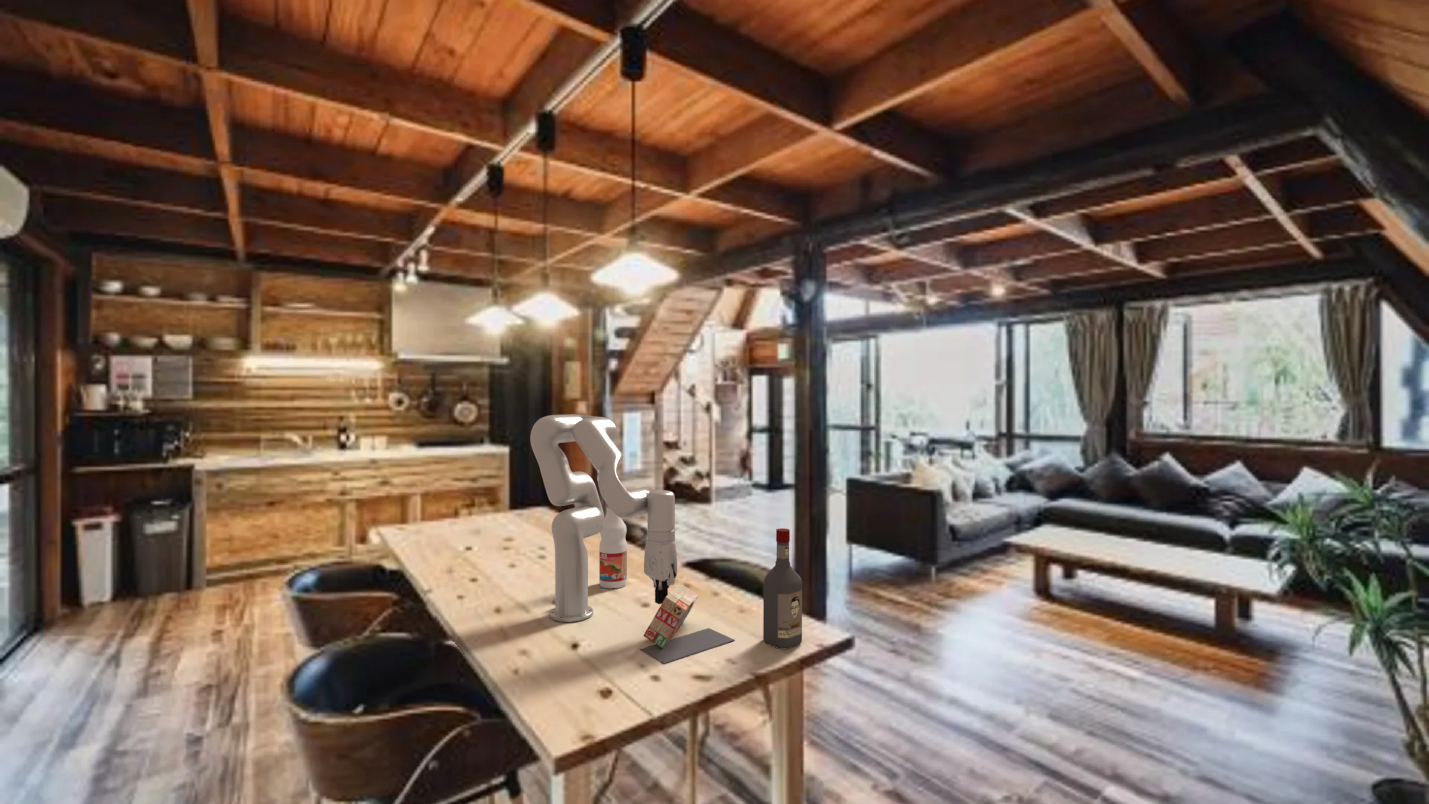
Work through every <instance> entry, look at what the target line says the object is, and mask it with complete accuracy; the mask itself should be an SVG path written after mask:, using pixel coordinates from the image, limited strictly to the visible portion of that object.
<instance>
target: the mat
mask: <svg viewBox="0 0 1429 804" xmlns="http://www.w3.org/2000/svg"><path fill="white" fill-rule="evenodd" d="M732 642H736V641H735V639H734V638H731V637H729V636H727V635H726V634H723V633H721V632H719V631H717V630H714V629H712V628H710V627H708V628H705V629H701V630H698V631H694V632H692V633H691V632H690V633H687V634H683V635H681V636H677V637H675V638H671V640H670V641H669V642H668V644H667V645H666V646H665V647H664V648H663V649H662V648H661V647H659V646H658V645H656V644H655V643H654V644H651V645H649V646H648V645H647V646H645V647H641V648H640V649H639V651H641V652H643V654H646V655H647V656H650V657H651V658H653V659H655V660H656V661H659V662H660V663H662V664H663V665H666V664H669V663H672V662H675V661H678V660H681V659H684V658H688V657H690V656H693V655H696V654H700V653H702V652H705V651H708V650H712V649H714V648H717V647H720V646H723V645H727V644H729V643H732Z"/></svg>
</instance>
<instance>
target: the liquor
mask: <svg viewBox="0 0 1429 804" xmlns="http://www.w3.org/2000/svg"><path fill="white" fill-rule="evenodd" d="M790 532H791V531H790V529H789V528H785V527H784V528H781V527H780V528H776V533H775V537H776V538H775V541H776V558H775V559H776V561H775V562H774V563H775V565H774V566H773V567H772V568H771V569H770V570H769V571H768V573H766V574H765V576H764V578H763V592H762V593H763V599H762V600H763V601H762V603H763V608H762V610H763V617H762V618H763V619H762V620H763V623H762V626H763V627H762V630H763V631H762V634H763V636H762V637H763V638H762V639H763V641H764V643H765V644H767V645H769V644H770V645H769V646H771V647H773V646H774V648H776V647H777V648H776V649H778V648H789V649H791V648H794V647H796V645H797V646H799V645H801V643H802V642H803V580H802V577H801V576H800V575H799V574H798V573H797V571H795V569H794V568H793V567H792V565H791V562H790V541H791V540H790V539H791V536H790V535H791V534H790ZM798 644H799V645H798ZM793 646H794V647H793ZM790 647H791V648H790Z"/></svg>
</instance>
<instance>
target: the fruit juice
mask: <svg viewBox="0 0 1429 804" xmlns="http://www.w3.org/2000/svg"><path fill="white" fill-rule="evenodd" d="M605 508H606V513H605V516H604V518H605V523H604V527H603V529H602V530H601V531H600V532H599V534H600V537H601V539H600V541H599V549H598V550H599V551H598V552H599V561H598V563H599V564H598V565H599V574H598V575H599V586H600V587H601V588H602V589H603V588H604V589H613V588H614V589H620V588H624V587H625V586H626V585H627V582H628V543H627V540H626V535H627V525H626V523H625V522H624V521H623V518H620V517H618V516H617V515H616V514H615V513H614V512H613V511H612V510H611V509H610V507H609V506H608V505H607V503H606V504H605Z"/></svg>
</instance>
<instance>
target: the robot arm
mask: <svg viewBox="0 0 1429 804" xmlns="http://www.w3.org/2000/svg"><path fill="white" fill-rule="evenodd" d="M617 436H618V430H617V426H616V424H615V423H614V422H613V421H612V419H609V418H607V417H604V416H594V415H586V414H578V413H577V414H575V413H574V414H573V413H571V414H551V415H550V414H549V415H546V416H543V417H541V418H539V419H538V420H537V421H536V422H535V423H534V424H533V426H532V428H531V431H530V436H529V437H530V438H529V439H530V440H529V441H530V446H531V449H532V451H533V453H534V456H535V459H536V462H537V463H538V466H539V470H540V474H541V477H542V481H543V485H544V489H545V491H546V494H547V497H548V500H549V502H550V503H551V504H552V505H554V506H555V507H562V506H563V507H565V506H569V505H573V506H574V507H572V508H568V509H565V510H562V511H561V512H559V513H557V514H556V515H555V516H554V518H553V520H552V522H551V535H552V538H553V543H554V545H553V546H554V569H555V570H554V577H555V578H554V582H555V583H554V588H555V589H554V591H555V593H554V598H553V601H554V605H555V606H554V608H553V609H552V610H550V612H549V617H550V619H551V620H553V621H556V622H562V623H572V622H575V623H576V622H579V621H580V622H581V621H584V620H587V619H589V618H591V617H592V616H593V615H594V608H593V607H592V606H590V605H589V559H588V558H589V556H588V549H587V546H586V545H585V542H584V539H586V538H589V537H592V536H595V535H597V534H600V531H601V530H602V529H603V527H604V523H605V513H604V509H603V505H602V503H601V500H600V496H601V498H602V499H603V500H604V502H605V503H606V504H607V505H608V506H609V507H610V509H611V510H612V511H613V512H614V513H615V514H616V515H617V516H618V517H620V518H622V520H623V519H625V520H626V519H627V520H628V519H629V520H630V519H632V518H636V517H638V516H644V515H647V539H646V541H645V548H644V559H643V572H644V574H645V575H646V576H648V578H650V579H651V580H652V582H653V588H654V604H655V603H656V604H658V605H661V604H662V603H663V601H664V599H665V597H666V596H667V595H668V594H669V589H670V586H674V585H675V584H676V583H675V579H676V578H677V575H678V555H677V547H676V498H675V493H674V492H673V491H672V490H665V489H659V490H658V489H653V488H650V487H646V486H643V487H642V486H641V487H637V488H631V489H628V490H627V489H626V488H625V485H623V484H622V482H621V481H620V479H619V477H618V475H617V467H618V466H619V465H620V464H621V462H622V460H623V453H622V452H621V450H620V449H619V448H618V447H617V445H616V444H615V442H614V441H615V440H616V438H617ZM570 442H571V443H572V442H575V443H576V444H577V446H578V447H579V448H580V449H581V451H582V452H583V453H584V455H585V457H587V459H588V461H590V463H591V464H592V466H593V467H594V469H595V471H596V472H597V484H598V489H599V492H600V496H599V492H598V489H597V486H596V483H595V482H594V480H593V478H592V477H591V476H590V475H589V474H588V473H586V472H585V471H578V470H577V471H572V470H571V467H570V463H569V460H568V457H567V455H566V453H565V452H564V451H563V450H562V448H560V446H559V444H561V443H563V444H564V443H570Z"/></svg>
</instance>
